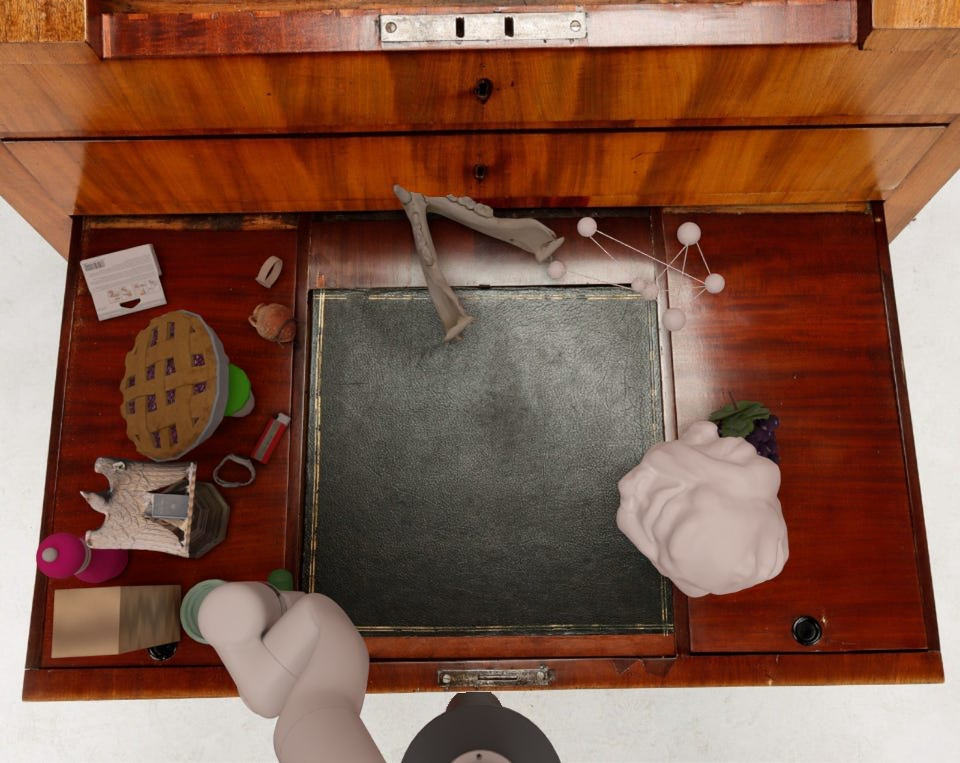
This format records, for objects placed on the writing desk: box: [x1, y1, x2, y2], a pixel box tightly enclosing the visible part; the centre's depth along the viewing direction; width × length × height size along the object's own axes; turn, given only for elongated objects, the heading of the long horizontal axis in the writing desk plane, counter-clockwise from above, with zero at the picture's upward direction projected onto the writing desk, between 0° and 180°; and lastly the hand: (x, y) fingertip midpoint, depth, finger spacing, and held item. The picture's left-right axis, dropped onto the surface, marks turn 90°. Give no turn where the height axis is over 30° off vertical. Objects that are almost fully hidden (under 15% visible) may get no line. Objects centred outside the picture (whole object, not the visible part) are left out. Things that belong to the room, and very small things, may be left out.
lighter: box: [249, 412, 292, 465], centre depth 137 cm, size 3×1×8 cm
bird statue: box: [79, 441, 231, 559], centre depth 117 cm, size 17×13×35 cm
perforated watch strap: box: [255, 255, 283, 289], centre depth 140 cm, size 3×5×5 cm, turn 150°
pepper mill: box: [35, 532, 129, 584], centre depth 123 cm, size 7×7×20 cm
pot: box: [248, 302, 307, 349], centre depth 138 cm, size 6×8×6 cm
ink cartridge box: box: [79, 243, 167, 322], centre depth 141 cm, size 2×11×10 cm
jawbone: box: [393, 184, 565, 343], centre depth 137 cm, size 25×25×15 cm
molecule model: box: [546, 216, 726, 332], centre depth 139 cm, size 14×25×18 cm
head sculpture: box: [615, 420, 790, 598], centre depth 124 cm, size 23×23×25 cm
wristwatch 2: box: [213, 453, 256, 489], centre depth 135 cm, size 4×6×5 cm
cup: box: [223, 363, 256, 418], centre depth 131 cm, size 8×8×15 cm
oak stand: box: [51, 584, 182, 659], centre depth 120 cm, size 8×8×24 cm
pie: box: [119, 309, 229, 463], centre depth 128 cm, size 22×22×5 cm
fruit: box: [706, 391, 781, 466], centre depth 134 cm, size 10×11×15 cm
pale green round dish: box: [180, 578, 231, 645], centre depth 130 cm, size 9×9×4 cm
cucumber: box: [266, 568, 294, 591], centre depth 126 cm, size 11×4×4 cm, turn 3°
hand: (282, 607), depth 127 cm, fingers closed on cucumber, 3 cm apart
